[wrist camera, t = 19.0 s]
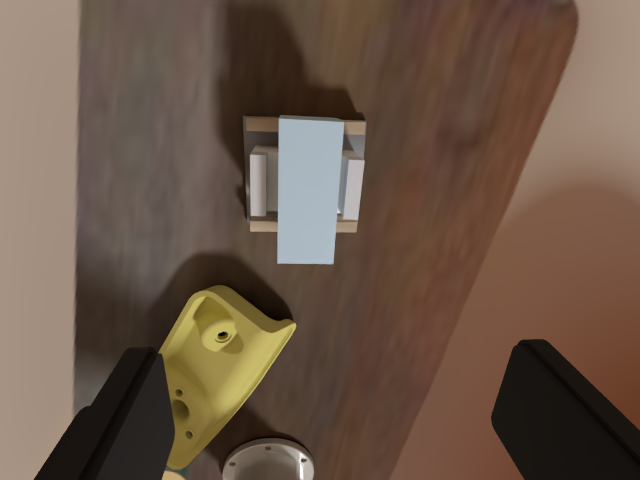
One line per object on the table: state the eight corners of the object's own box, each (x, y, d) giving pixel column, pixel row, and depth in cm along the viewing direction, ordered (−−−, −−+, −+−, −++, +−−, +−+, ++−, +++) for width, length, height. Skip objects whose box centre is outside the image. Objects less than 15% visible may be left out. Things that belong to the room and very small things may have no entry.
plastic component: (199, 280, 35) (278, 342, 33) (236, 268, 42) (302, 318, 40) (118, 421, 39) (185, 482, 37) (164, 388, 46) (221, 438, 44)
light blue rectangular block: (337, 117, 28) (344, 121, 24) (328, 244, 32) (333, 264, 28) (280, 114, 27) (278, 118, 24) (279, 243, 32) (277, 263, 28)
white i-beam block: (348, 202, 34) (357, 219, 30) (256, 198, 33) (250, 215, 29) (353, 150, 32) (364, 160, 28) (255, 145, 31) (249, 154, 27)
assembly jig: (356, 222, 36) (361, 232, 33) (248, 221, 35) (245, 231, 32) (365, 120, 32) (371, 122, 30) (243, 115, 31) (239, 117, 29)
